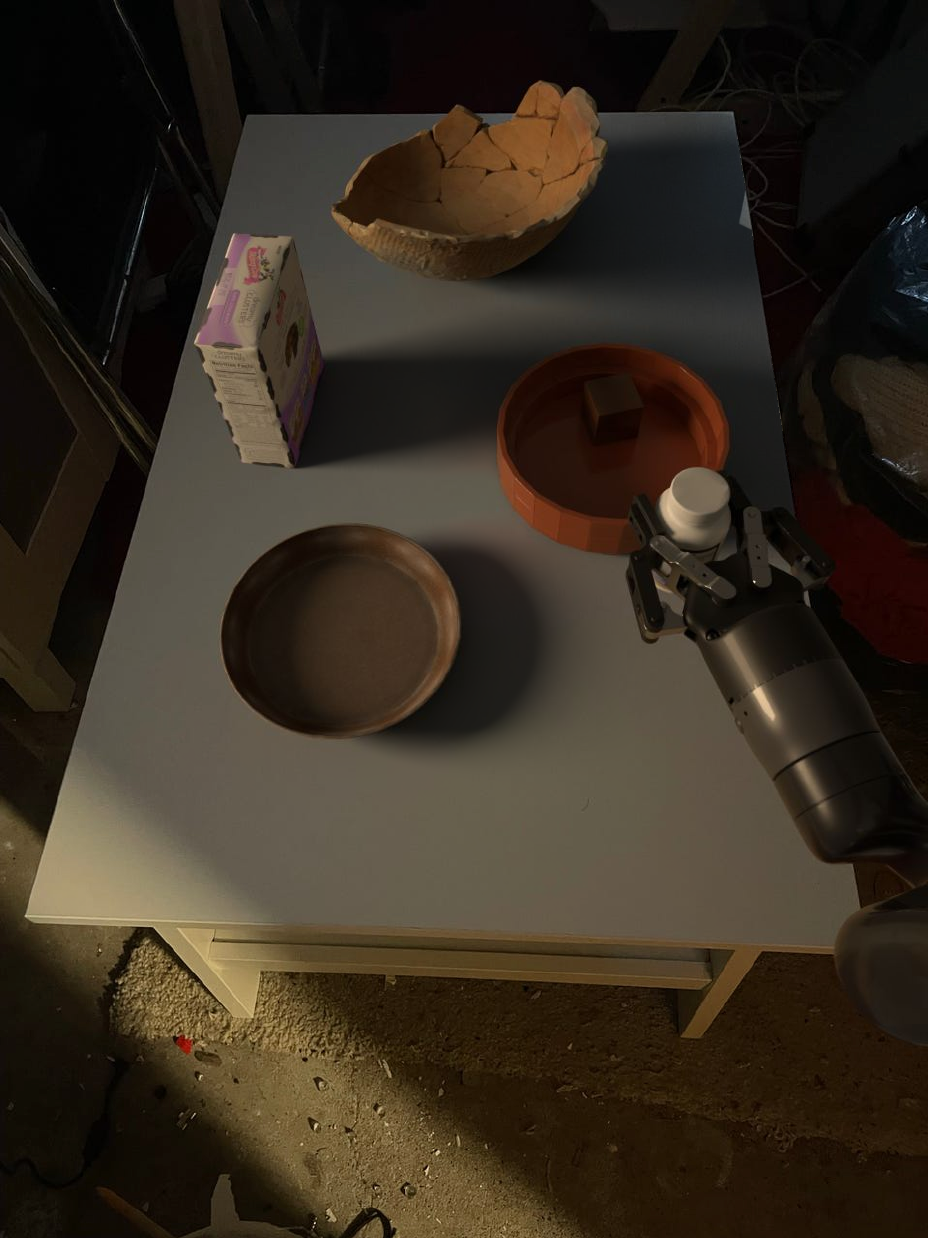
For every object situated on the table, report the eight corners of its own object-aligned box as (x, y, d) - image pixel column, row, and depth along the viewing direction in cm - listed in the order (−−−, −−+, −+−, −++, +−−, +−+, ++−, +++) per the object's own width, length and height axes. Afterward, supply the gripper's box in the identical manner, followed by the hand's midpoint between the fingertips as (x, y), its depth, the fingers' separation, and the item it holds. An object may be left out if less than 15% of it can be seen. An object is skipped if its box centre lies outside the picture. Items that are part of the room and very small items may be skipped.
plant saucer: (510, 625, 79) (510, 608, 76) (349, 801, 72) (343, 789, 69) (342, 505, 86) (337, 484, 83) (181, 654, 79) (169, 638, 76)
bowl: (714, 389, 91) (727, 350, 86) (717, 566, 81) (732, 533, 76) (508, 375, 93) (509, 336, 88) (486, 547, 83) (486, 513, 78)
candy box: (272, 360, 95) (232, 228, 80) (326, 365, 94) (295, 233, 80) (239, 464, 88) (189, 341, 74) (297, 469, 88) (258, 347, 73)
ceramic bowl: (386, 125, 110) (394, 1, 96) (595, 194, 110) (632, 79, 96) (301, 301, 97) (295, 186, 84) (537, 377, 98) (570, 275, 84)
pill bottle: (661, 525, 70) (684, 445, 62) (723, 557, 69) (755, 480, 60) (626, 574, 68) (646, 498, 60) (689, 608, 67) (718, 536, 58)
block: (623, 403, 90) (629, 371, 86) (637, 437, 88) (644, 406, 84) (580, 412, 89) (584, 380, 85) (593, 446, 87) (598, 416, 83)
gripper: (915, 632, 54) (780, 427, 62) (698, 706, 52) (586, 485, 60) (869, 683, 60) (752, 492, 68) (675, 750, 59) (578, 546, 66)
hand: (675, 490), depth 64 cm, fingers closed on pill bottle, 5 cm apart
